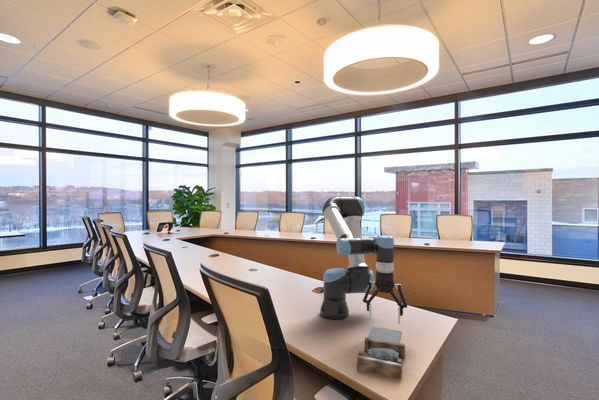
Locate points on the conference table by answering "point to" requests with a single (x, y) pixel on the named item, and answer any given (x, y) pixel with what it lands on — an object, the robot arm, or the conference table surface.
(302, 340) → the conference table surface
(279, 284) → the conference table surface
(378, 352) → the packaged food
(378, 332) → the slate mat
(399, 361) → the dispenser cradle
